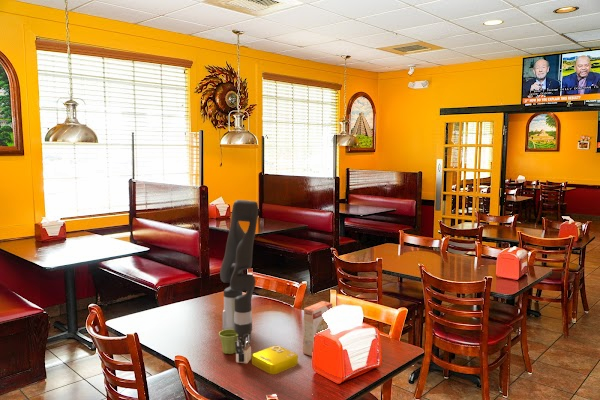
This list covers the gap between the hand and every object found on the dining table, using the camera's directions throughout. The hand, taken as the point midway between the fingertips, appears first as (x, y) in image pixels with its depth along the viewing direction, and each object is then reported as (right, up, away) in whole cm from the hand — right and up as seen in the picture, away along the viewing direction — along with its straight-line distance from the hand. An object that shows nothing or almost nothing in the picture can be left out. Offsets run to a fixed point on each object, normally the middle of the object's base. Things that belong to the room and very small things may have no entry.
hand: (243, 358), depth 208 cm
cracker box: (+32, 0, +10) cm, 34 cm away
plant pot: (-7, 0, +9) cm, 11 cm away
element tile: (+14, -2, -3) cm, 14 cm away
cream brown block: (0, -1, 0) cm, 1 cm away
